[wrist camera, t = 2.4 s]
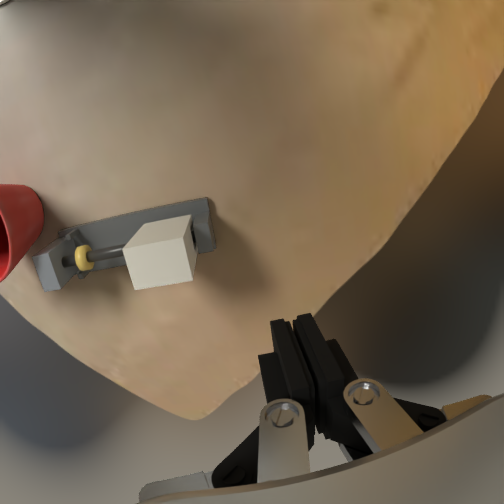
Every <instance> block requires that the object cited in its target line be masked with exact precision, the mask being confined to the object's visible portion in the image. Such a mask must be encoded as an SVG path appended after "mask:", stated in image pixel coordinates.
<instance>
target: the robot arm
mask: <svg viewBox="0 0 504 504" xmlns="http://www.w3.org/2000/svg"><path fill="white" fill-rule="evenodd" d="M8 1H9V0H0V5H2V4H4V3H6V2H8ZM270 325H271V332H272V340H273V347H274V352H273V353H267V354H262V355H258V359H259V364H260V370H261V375H262V380H263V385H264V390H265V395H266V399H267V405H265V406H264V408H263V409H262V410H261V413H260V423H259V426H258V427H257V428H256V429H255V430H254V431H253V432H252V433H251V434H250V435H249V436H248V437H247V438H246V439H245V440H244V441H243V442H242V443H241V444H240V445H239V446H238V447H237V448H236V449H235V450H234V451H233V452H232V453H231V454H230V455H229V456H228V457H227V458H225V459H224V460H223V461H222V462H221V463H220V464H219V465H218V466H217V467H216V468H215V470H214V471H211V472H208V473H204V472H203V471H202V472H198V473H194V474H190V475H185V476H181V477H176V478H172V479H167V480H162V481H156V482H152V483H149V484H146V485H145V486H144V487H143V488H142V489H141V491H140V493H139V503H137V504H504V393H503V394H500V395H497V396H494V397H491V396H489V395H479V396H476V397H473V398H470V399H467V400H463V401H460V402H456V403H453V404H449V405H445V406H443V407H442V409H437V408H434V407H429V406H425V405H421V404H417V403H413V402H409V401H404V400H400V399H397V398H393V397H392V396H391V395H390V394H389V393H388V392H387V391H386V390H385V388H384V387H383V386H382V385H381V384H380V383H378V382H377V381H375V380H372V379H366V378H365V379H358V377H357V375H356V373H355V372H354V370H353V368H352V366H351V365H350V363H349V361H348V359H347V358H346V356H345V354H344V352H343V351H342V349H341V347H340V345H339V344H338V342H337V341H336V339H332V340H328V341H325V339H324V337H323V335H322V334H321V332H320V330H319V328H318V326H317V324H316V322H315V320H314V318H313V317H312V315H311V313H308V314H303V315H298V316H297V319H296V320H293V329H292V327H291V324H290V322H289V321H286V322H285V321H284V319H278V320H273V321H270ZM293 331H294V332H293ZM315 425H316V428H317V431H318V433H319V434H320V433H323V434H324V436H325V439H331V440H333V441H336V442H338V444H339V447H340V449H341V451H342V452H343V454H344V456H345V457H346V459H347V461H348V463H344V464H341V465H338V466H334V467H331V468H328V469H324V470H320V471H316V472H312V473H310V463H309V453H308V452H309V450H310V449H311V448H312V446H313V445H314V435H315Z"/></svg>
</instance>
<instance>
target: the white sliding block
mask: <svg viewBox="0 0 504 504" xmlns="http://www.w3.org/2000/svg"><path fill="white" fill-rule="evenodd" d="M192 230H194V229H193V220H192V215H185V216H180V217H175V218H170V219H165V220H160V221H155V222H150V223H145V224H144V225H143V226H142V227H141V228H140V229H139V230H138V231H137V232H136V234H135V235H134V236H133V237H132V238H131V239H130V241H129V242H128V243H127V244H126V245H125V246H124V248H123V249H122V250H123V254H124V257H125V260H126V264H127V267H128V270H129V274H130V277H131V280H132V283H133V286H134V289H135V290H139V289H145V288H151V287H157V286H163V285H169V284H175V283H181V282H187V281H193V277H194V271H195V265H196V259H197V253H198V248H197V243H193V239H192V234H191V231H192Z"/></svg>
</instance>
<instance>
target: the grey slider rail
mask: <svg viewBox="0 0 504 504" xmlns="http://www.w3.org/2000/svg"><path fill="white" fill-rule="evenodd" d="M185 215H192V220H193V229H194V230H192V231H191V234H192V239H193V243H197V248H198V252H199V254H200V253H206V252H211V251H214V249H216V242H215V237H214V232H213V226H212V221H211V216H210V210H209V205H208V199H207V197H205V198H199V199H194V200H189V201H184V202H179V203H174V204H169V205H164V206H159V207H154V208H149V209H145V210H140V211H136V212H131V213H127V214H122V215H118V216H114V217H110V218H105V219H101V220H97V221H93V222H89V223H85V224H81V225H77V226H73V227H70V228H66V229H62V230H60V231H59V232H58V234H59V238H58V239H56V240H55V241H53V242H52V243H50V244H49V245H48V246H46V247H45V248H43V249H42V250H41V251H39V252H38V253H37V254H35V255H34V256H32V259H33V262H34V265H35V268H36V271H37V273H38V276H39V279H40V281H41V284H42V287H43V289H44V292H47V291H52V290H58V289H61V288H62V287H63V286H64V285H65V284H66V283H67V282H68V281H69V280H70V279H71V278H72V277H73V276H74V275H75V274H78V277H79V279H83V278H84V277H85V276H86V275H87V274H88V273H89V272H91V271H96V270H102V269H107V268H113V267H118V266H123V265H127V264H126V260H125V257H124V254H123V250H122V249H123V248H124V246H125V245H126V244H127V243H128V242H129V241H130V239H131V238H132V237H133V236H134V235H135V234H136V232H137V231H138V230H139V229H140V228H141V227H142V226H143V225H144V224H145V223H150V222H155V221H160V220H165V219H170V218H175V217H180V216H185Z"/></svg>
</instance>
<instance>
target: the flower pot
mask: <svg viewBox="0 0 504 504" xmlns="http://www.w3.org/2000/svg"><path fill="white" fill-rule="evenodd" d="M43 224H44V212H43V207H42V204H41V202H40V200H39V198H38V196H37V194H36V193H35V192H34V191H33V190H32V189H31V188H29V187H27V186H25V185H12V184H0V282H2V281H3V280H4V279H5V278H6V277H7V276H8V275H9V274H10V273H11V271H12V270H13V269H14V268H15V266H16V265H17V264H18V263H19V261H20V260H21V259H22V258H23V256H24V255H25V254H26V252H27V251H28V250H29V248H30V247H31V246H32V245H33V243H34V242H35V241H36V240H37V238H38V237H39V235H40V234H41V231H42V228H43Z"/></svg>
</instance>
